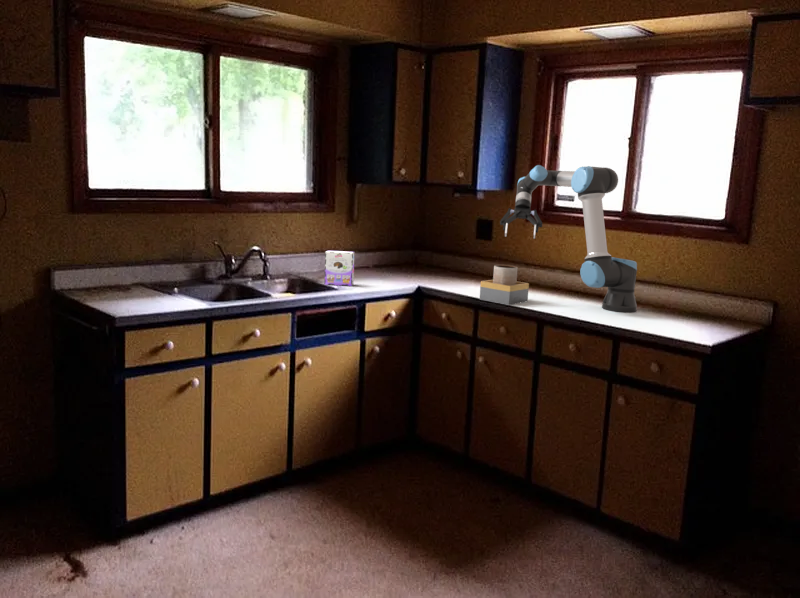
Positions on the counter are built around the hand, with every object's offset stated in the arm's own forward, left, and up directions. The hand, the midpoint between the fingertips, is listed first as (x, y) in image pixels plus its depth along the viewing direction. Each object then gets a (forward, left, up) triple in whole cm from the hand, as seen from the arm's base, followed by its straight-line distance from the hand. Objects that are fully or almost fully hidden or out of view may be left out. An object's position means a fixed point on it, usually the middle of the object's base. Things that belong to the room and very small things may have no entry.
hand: (519, 235), depth 357 cm
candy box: (+68, +53, -29) cm, 91 cm away
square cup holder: (-5, +17, -29) cm, 34 cm away
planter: (-5, +17, -23) cm, 29 cm away
